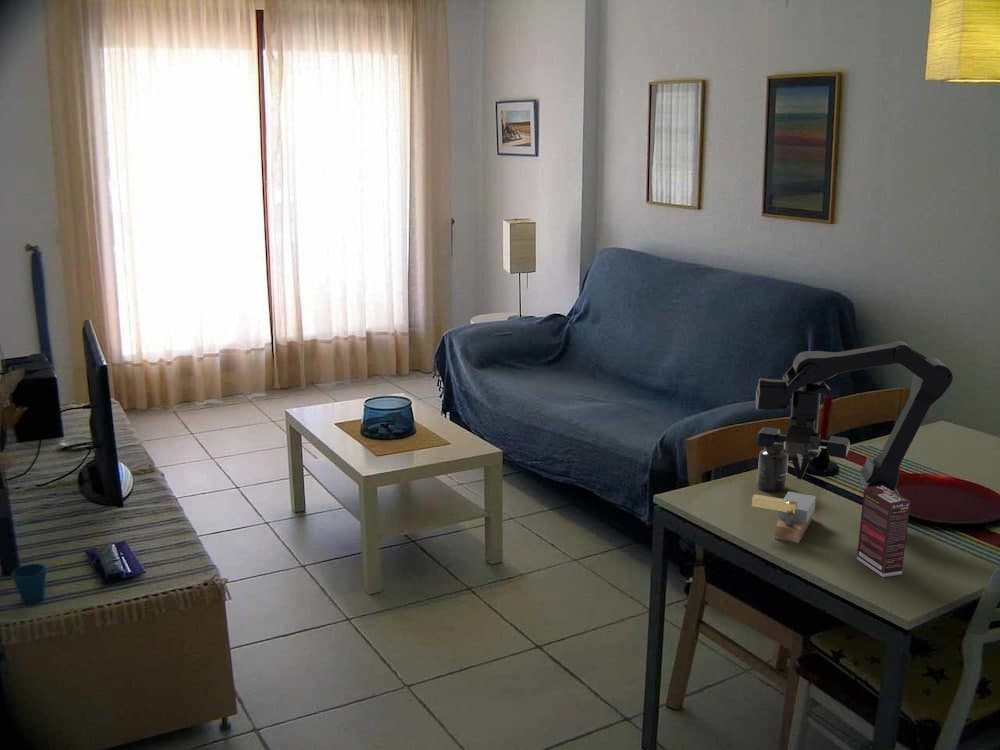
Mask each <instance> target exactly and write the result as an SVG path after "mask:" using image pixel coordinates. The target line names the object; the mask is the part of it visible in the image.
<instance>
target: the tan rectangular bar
mask: <svg viewBox="0 0 1000 750" xmlns="http://www.w3.org/2000/svg"><path fill="white" fill-rule="evenodd" d="M751 506H752V507H754V508H761V509H766V510H772V511H783V512H787V513H796V511H797V501H794V500H786V499H784V498H781V497H780V498H778V497H774V496H773V497H772V496H766V495H761V494H753V496H752V498H751Z"/></svg>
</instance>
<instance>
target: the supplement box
mask: <svg viewBox="0 0 1000 750" xmlns="http://www.w3.org/2000/svg"><path fill="white" fill-rule="evenodd" d="M899 494H900V493H899ZM899 494H897V493H896V492H894V491H892V490H890V489H888V488H887V487H885V486H873V487H866V488H864V487H863V498H862V505H861V506H862V507H861V513H860V515H861V516H860V523H859V524H860V525H859V533H858V534H859V535H858V543H857V544H858V545H857V553H856V560H857V561H859V562H860V563H862V564H863V565H865V566H866V567H868V568H869V569H870V570H872V571H873V572H875V573H877V574H878V575H879V577H880V576H881V577H882V578H887V577H888V578H889V577H893V576H900V575H902V574H903V567H904V558H905V549H906V544H907V543H906V542H907V535H908V527H909V525H908V524H909V517H910V509H911V500H910V499H908V498H906V497H905V496H903V495H901V494H900V495H899Z"/></svg>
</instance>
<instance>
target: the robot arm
mask: <svg viewBox="0 0 1000 750" xmlns="http://www.w3.org/2000/svg"><path fill="white" fill-rule="evenodd" d="M894 364H900V365H901V366H903V367H905V368H906V369H907V370H909V371H910V372H912V374H913V375H912V380H911V384H910V385H911V387H910V392H909V393H910V394H909V397H908V399H907V401H906V403H905V405H904V407H903V408H902V410H901V412H900V414H899V416H898V417H897V420H896V422H895V424H894V426H893V427H892V430H891V432H890V434H889V436H888V437H887V439H886V441H885V444H884V446H883V448H882V450H881V451H880V453H878V455H877V456H875V457H873V458H872V457H871V456H867V457H866V460H865V463H864V465H863V467H861V469H860V470H859V473H860V474H861V475H860V482H861V484H862V486H863V489H864V488H866V487H873V486H885V487H887V488H888V489H890V490H892V491H894V492H896V493H897V494H899V495H901V494H900V493H899V491H898V490H897V485H898V483H899V482H898V481H899V477H900V467H901V464H902V462H903V460H904V458H905V456H906V454H907V452H908V450H909V448H910V446H911V445H912V442H913V440H914V439H915V438H916V436H917V433H918V431H919V429H920V427H921V426H922V423H923V421H924V419H925V418H926V416H927V413H928V412H929V410H930V409H931V407H932V406H933V405H934V404H935V403H936V402H937V401H939V400H940V399H941V398H942V397H943V396H944V394H945V393H946V392H947V390H948V389H949V388H950V387H951V385H952V384H953V381H954V376H953V373H952V371H951V370H950V369H949V367H948V366H946V365H945V364H944V363H943V362H941V360H939V359H938V358H935V357H926V356H925V355H923V354H921V353H920V352H918V351H917V350H915V349H914V348H912V347H910V346H909V345H908V344H907V343H906V342H904V341H902V340H895V341H893V342H890V343H889V342H888V343H885V344H879V345H872V346H867V347H862V348H861V347H860V348H855V349H850V350H849V349H848V350H844V351H837V352H836V351H825V350H824V351H822V350H806V351H805V350H804V351H802V352H799V353H798V354H797V355H796V356H795V358H794V360H793V363H792V366H791V367H790V368H789V369H788V370H787V371H786V372H785V373H784V374H783V376H782V379H772V378H771V379H769V378H763V377H762V378H761V377H760V378H758V384H757V387H756V388H757V389H755V409H756V410H757V411H777V412H778V411H779V412H784V411H785V409H786V410H787V409H788V407H789V406H790V404H791V406H790V407H791V408H790V409H791V411H790V420H789V421H790V422H789V425H788V428H787V430H786V434H782V433H781V430H780V428H776V427H775V428H774V427H770V426H769V427H768V426H764V427H762V428H760V430H759V432H758V433H757V435H756V442H755V443H756V446H758V447H763V448H764V447H772V446H773V445H774V444H775V442H777V443H784V449H783V452H784V453H787V454H788V457H790V460H791V462H792V464H793V468H794V471H795V475H796V478H797V480H800V481H801V480H802V479H803V477H804V476H805V472H807V471H806V470H807V468H808V466H809V464H810V462H811V460H812V458H818V457H819V456H820V454H821V452H822V450H826V454H828V456H829V457H833V458H841V459H846V458H847V457H848V453H849V451H850V446H851V445H850V444H851V441H850V440H849V438H848V437H841V436H834V435H831V436H830V437H829V439H828V440H826V439H821V433H820V432H818V431H819V420H820V419H819V418H820V417H819V416H820V406H821V394H831V393H832V389H831V388H830V387H829V386H828V385H827V384H826V383H825V381H826V380H831V378H834V377H835V376H837V375H839V374H842V373H847V372H854V371H859V370H865V369H871V368H877V367H883V366H884V367H885V366H889V365H894ZM791 395H792V398H791Z"/></svg>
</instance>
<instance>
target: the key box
mask: <svg viewBox="0 0 1000 750" xmlns="http://www.w3.org/2000/svg"><path fill="white" fill-rule="evenodd" d="M813 515H814V514H813V513H812V515H811V516H810V518H809V520H808V522H807V523H806V524H803V523H798V522H793V517H794V513H787V518H786V520H783V519H778V521H777V523H776V524H775V532H774V539H775V538H776V539H775V540H779V539H781V540H780V541H784V540H786V541H785V542H788V541H792V542H791V543H793V542H796V543H795V544H798V543H799V544H800V543H801V542H800V541H801V540H802V538H803V536H804V534H805V533H806V531H807V529H808V528H809V526H810V524H811V522H812V520H813Z"/></svg>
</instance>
